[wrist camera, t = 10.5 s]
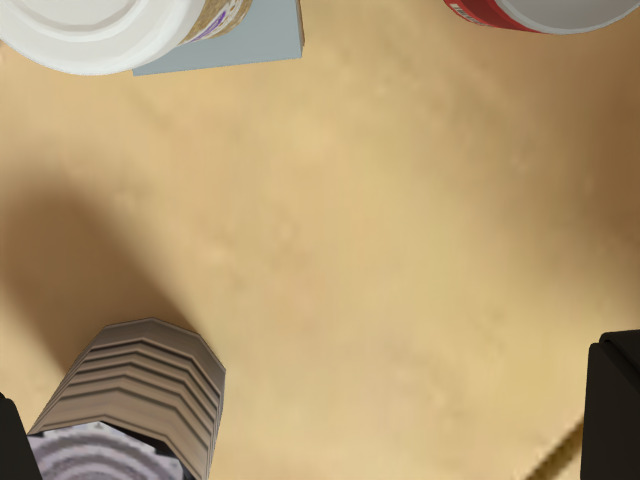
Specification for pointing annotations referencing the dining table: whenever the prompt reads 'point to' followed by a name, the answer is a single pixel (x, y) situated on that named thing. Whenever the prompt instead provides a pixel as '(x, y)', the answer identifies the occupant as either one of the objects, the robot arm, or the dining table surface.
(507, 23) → the canned food
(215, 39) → the pale grey-blue cube
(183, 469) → the can
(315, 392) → the dining table surface
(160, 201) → the dining table surface
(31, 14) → the sprinkles bottle
